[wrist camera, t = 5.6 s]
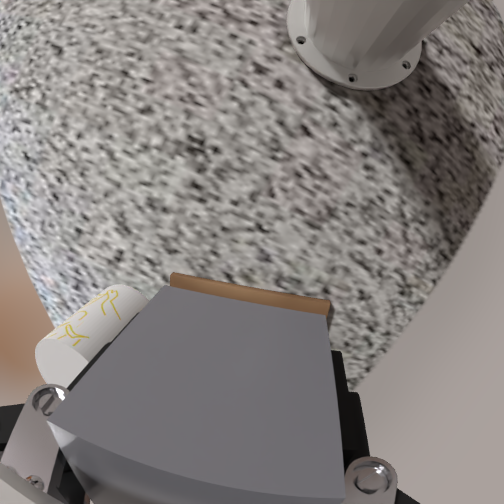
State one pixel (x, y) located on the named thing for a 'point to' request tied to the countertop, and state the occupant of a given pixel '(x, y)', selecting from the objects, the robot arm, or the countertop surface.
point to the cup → (86, 333)
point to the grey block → (208, 408)
